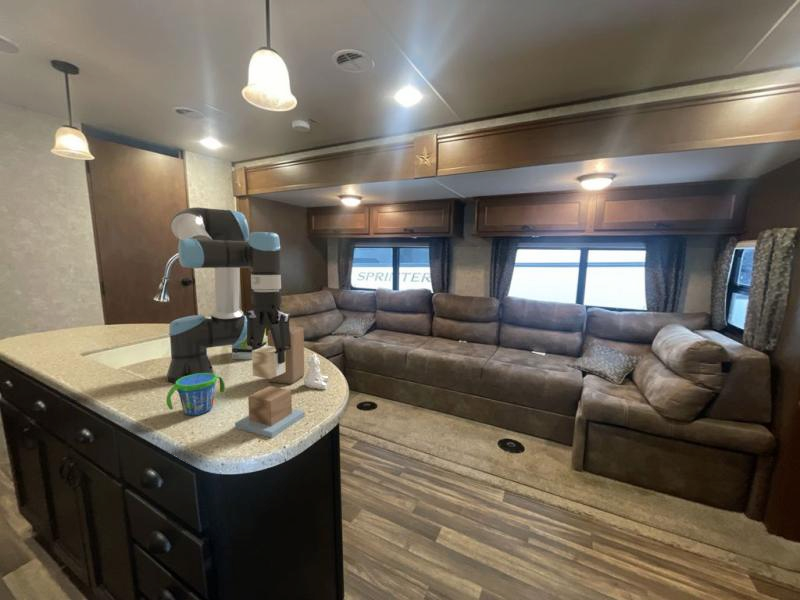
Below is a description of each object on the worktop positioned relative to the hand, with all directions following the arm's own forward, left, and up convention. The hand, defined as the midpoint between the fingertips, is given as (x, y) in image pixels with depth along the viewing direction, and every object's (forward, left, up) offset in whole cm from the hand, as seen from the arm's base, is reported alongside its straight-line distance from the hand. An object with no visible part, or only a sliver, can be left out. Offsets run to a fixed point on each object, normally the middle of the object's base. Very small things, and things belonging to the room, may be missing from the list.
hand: (269, 372), depth 92 cm
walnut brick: (0, 0, -13) cm, 13 cm away
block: (-19, +29, -15) cm, 37 cm away
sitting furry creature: (-5, +28, -15) cm, 32 cm away
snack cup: (-25, -3, -15) cm, 29 cm away
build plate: (0, 0, -14) cm, 14 cm away
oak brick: (0, 0, 0) cm, 0 cm away
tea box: (-57, +47, -15) cm, 75 cm away
